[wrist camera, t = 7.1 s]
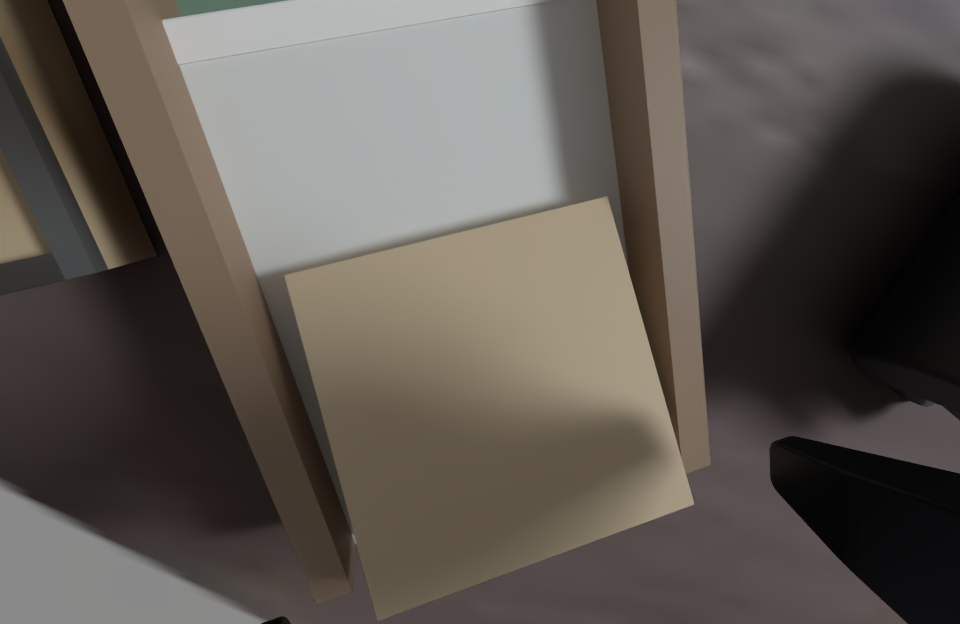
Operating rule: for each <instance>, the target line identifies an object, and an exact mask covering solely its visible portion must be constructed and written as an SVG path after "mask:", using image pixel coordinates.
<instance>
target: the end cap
mask: <svg viewBox="0 0 960 624" xmlns="http://www.w3.org/2000/svg"><path fill="white" fill-rule="evenodd" d="M847 350H848V352H849V353H850V354H851V360H852V362H853V363H854V365H855V366H856V367H857V368H858V370H859V371H861V372H862V373H863V374H864V375H865V376H866V377H868V378H870V379H872V380H875V381H878V382H880V383H883V384H886V385H888V386H889V387H890V388H892V389H893V390H894V391H895V392H897V393H898V394H899V395H900V396H902V397H903V398H904V399H906V400H908V401H911V402H914V403H916V404H919V405H921V406H925V407H928V406H931V405H933V404H934V403H936V404H939V405H942V406H943V407H944V408H946V409H947V410H948V411H949V412H950V413H952V414H953V415H954V416H955V417H956V418H958V419H959V420H960V195H959V197H958V198H957V199H956V201H955V202H954V203H953V205H952V206H951V208H950V209H949V210H948V212H947V213H946V214H945V216H944V217H943V219H942V220H941V221H940V223H939V224H938V225H937V227H936V228H935V229H934V231H933V232H932V234H931V235H930V236H929V238H928V239H927V240H926V242H925V243H924V245H923V246H922V247H921V249H920V250H919V251H918V253H917V254H916V255H915V257H914V258H913V260H912V261H911V262H910V264H909V265H908V266H907V268H906V269H905V270H904V272H903V273H902V275H901V276H900V277H899V279H898V280H897V281H896V283H895V284H894V286H893V287H892V288H891V290H890V291H889V292H888V294H887V295H886V296H885V298H884V299H883V301H882V302H881V303H880V305H879V306H878V307H877V309H876V310H875V311H874V313H873V314H872V316H871V317H870V318H869V320H868V321H867V322H866V324H865V325H864V327H863V328H862V329H861V331H860V332H859V333H858V335H857V336H856V337H855V339H854V340H853V342H852V343H851V344H850V346H849V347H848V349H847Z"/></svg>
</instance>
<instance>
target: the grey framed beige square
mask: <svg viewBox="0 0 960 624" xmlns="http://www.w3.org/2000/svg"><path fill="white" fill-rule="evenodd" d="M154 256H157V255H156V252H155V250H154V248H153V245H152V243H151V241H150V238H149V236H148V234H147V231H146V229H145V227H144V224H143V222H142V220H141V217H140V215H139V213H138V210H137V208H136V206H135V203H134V201H133V199H132V196H131V194H130V192H129V189H128V187H127V185H126V182H125V180H124V178H123V175H122V173H121V171H120V168H119V166H118V164H117V161H116V159H115V157H114V154H113V152H112V150H111V147H110V145H109V143H108V140H107V138H106V136H105V133H104V131H103V129H102V126H101V124H100V122H99V119H98V117H97V115H96V112H95V110H94V108H93V105H92V103H91V101H90V98H89V96H88V94H87V91H86V89H85V87H84V84H83V82H82V80H81V77H80V75H79V73H78V70H77V68H76V66H75V63H74V61H73V59H72V56H71V54H70V52H69V49H68V47H67V45H66V42H65V40H64V38H63V35H62V33H61V31H60V28H59V26H58V24H57V21H56V19H55V17H54V14H53V12H52V10H51V7H50V5H49V3H48V0H0V295H3V294H7V293H11V292H16V291H20V290H24V289H29V288H33V287H37V286H42V285H46V284H51V283H55V282H59V281H64V280H68V279H72V278H77V277H81V276H85V275H90V274H94V273H98V272H102V271H105V270H109V269H112V268H116V267H119V266H123V265H126V264H130V263H133V262H137V261H140V260H144V259H147V258H151V257H154Z"/></svg>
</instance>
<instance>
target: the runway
mask: <svg viewBox="0 0 960 624" xmlns="http://www.w3.org/2000/svg"><path fill="white" fill-rule="evenodd" d="M63 2H64V5H65V7H66V10H67V12H68V14H69V17H70V19H71V21H72V24H73V26H74V29H75V31H76V33H77V36H78V38H79V40H80V43H81V45H82V48H83V50H84V52H85V55H86V57H87V60H88V62H89V64H90V67H91V69H92V71H93V74H94V76H95V79H96V81H97V83H98V86H99V88H100V90H101V93H102V95H103V98H104V100H105V102H106V105H107V107H108V110H109V112H110V114H111V117H112V119H113V121H114V124H115V126H116V129H117V131H118V133H119V136H120V138H121V140H122V143H123V145H124V148H125V150H126V152H127V155H128V157H129V159H130V162H131V164H132V167H133V169H134V171H135V174H136V176H137V179H138V181H139V183H140V186H141V188H142V190H143V193H144V195H145V198H146V200H147V202H148V205H149V207H150V209H151V212H152V214H153V217H154V219H155V221H156V224H157V226H158V228H159V231H160V233H161V236H162V238H163V240H164V243H165V245H166V248H167V250H168V252H169V255H170V257H171V259H172V262H173V264H174V267H175V269H176V271H177V274H178V276H179V278H180V281H181V283H182V286H183V288H184V290H185V293H186V295H187V298H188V300H189V302H190V305H191V307H192V309H193V312H194V314H195V317H196V319H197V321H198V324H199V326H200V328H201V331H202V333H203V336H204V338H205V340H206V343H207V345H208V347H209V350H210V352H211V355H212V357H213V359H214V362H215V364H216V367H217V369H218V371H219V374H220V376H221V378H222V381H223V383H224V386H225V388H226V390H227V393H228V395H229V397H230V400H231V402H232V405H233V407H234V409H235V412H236V414H237V416H238V419H239V421H240V424H241V426H242V428H243V431H244V433H245V436H246V438H247V440H248V443H249V445H250V447H251V450H252V452H253V455H254V457H255V459H256V462H257V464H258V466H259V469H260V471H261V474H262V476H263V478H264V481H265V483H266V486H267V488H268V490H269V493H270V495H271V497H272V500H273V502H274V505H275V507H276V509H277V512H278V514H279V516H280V519H281V521H282V524H283V526H284V528H285V531H286V533H287V535H288V538H289V540H290V543H291V545H292V547H293V550H294V552H295V555H296V557H297V559H298V562H299V564H300V566H301V569H302V571H303V574H304V576H305V578H306V581H307V583H308V585H309V588H310V590H311V593H312V595H313V597H314V600H315V602H316V604H317V605H319V604H322V603H324V602H327V601H330V600H333V599H336V598H339V597H341V596H344V595H347V594H350V593H353V577H354V559H355V544H357V547H358V550H359V554H360V558H361V562H362V565H363V569H364V573H365V576H366V580H367V584H368V587H369V591H370V595H371V599H372V602H373V606H374V610H375V613H376V617H377V621H379V620H382V619H384V618H387V617H390V616H392V615H395V614H398V613H401V612H403V611H406V610H409V609H411V608H414V607H417V606H420V605H422V604H425V603H428V602H430V601H433V600H436V599H439V598H441V597H444V596H447V595H449V594H452V593H455V592H458V591H460V590H463V589H466V588H468V587H471V586H474V585H477V584H479V583H482V582H485V581H487V580H490V579H493V578H496V577H498V576H501V575H504V574H506V573H509V572H512V571H515V570H517V569H520V568H523V567H525V566H528V565H531V564H534V563H536V562H539V561H542V560H544V559H547V558H550V557H553V556H555V555H558V554H561V553H563V552H566V551H569V550H572V549H574V548H577V547H580V546H582V545H585V544H588V543H591V542H593V541H596V540H599V539H601V538H604V537H607V536H610V535H612V534H615V533H618V532H620V531H623V530H626V529H629V528H631V527H634V526H637V525H639V524H642V523H645V522H648V521H650V520H653V519H656V518H658V517H661V516H664V515H667V514H669V513H672V512H675V511H677V510H680V509H683V508H686V507H688V506H691V505H694V501H693V498H692V494H691V491H690V487H689V484H688V480H687V476H686V474H687V473H690V472H693V471H695V470H698V469H701V468H704V467H707V466H710V465H711V463H710V449H709V436H708V422H707V409H706V395H705V382H704V369H703V355H702V342H701V328H700V315H699V301H698V288H697V275H696V261H695V248H694V234H693V221H692V207H691V194H690V180H689V167H688V154H687V140H686V127H685V113H684V100H683V86H682V73H681V59H680V46H679V33H678V19H677V6H676V0H63Z"/></svg>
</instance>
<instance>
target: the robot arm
mask: <svg viewBox="0 0 960 624" xmlns="http://www.w3.org/2000/svg"><path fill="white" fill-rule="evenodd" d="M770 478H771V482H772V484H773V486H774V488H775V489H776V491H777V492H778V493H779V494H780V495H781V497H782V498H783V499H784V500H785V501H786V502H787V503H788V504H789V505H790V506H791V507H792V509H793V510H794V511H795V512H796V513H797V514H798V515H799V516H800V517H801V518H802V519H803V521H804V522H805V523H806V524H807V525H808V526H809V527H810V528H811V529H812V530H813V531H814V532H815V534H816V535H817V536H818V537H819V538H820V539H821V540H822V541H823V542H824V543H825V544H826V546H827V547H828V548H829V549H830V550H831V551H832V552H833V553H834V554H835V555H836V556H837V557H838V558H839V559H840V560H841V561H842V562H843V563H844V564H845V565H846V566H847V567H848V568H849V569H850V570H851V571H852V572H853V573H854V574H855V575H856V576H857V577H858V578H859V579H860V580H861V581H862V582H863V583H865V584H866V585H867V586H868V587H869V588H870V589H871V590H872V591H873V592H874V593H875V594H876V595H877V596H879V597H880V598H881V599H882V600H883V601H884V602H885V603H886V604H887V605H888V606H889V607H890V608H891V609H893V610H894V611H895V612H896V613H897V614H898V615H899V616H900V617H901V618H902V619H903V620H904V621H905V622H907V623H908V624H960V474H959V473H955V472H950V471H946V470H941V469H937V468H933V467H928V466H924V465H919V464H915V463H911V462H906V461H902V460H897V459H893V458H889V457H884V456H880V455H875V454H871V453H867V452H862V451H858V450H853V449H849V448H845V447H840V446H836V445H831V444H827V443H822V442H818V441H814V440H809V439H805V438H800V437H796V436H789V437H785V438H783V439H780V440H777V441H774V442H773V443H772V444H771V446H770ZM262 624H290V622H289V620H288V619H287V618H286V617H278V618H275V619H272V620H270V621H267V622H264V623H262Z"/></svg>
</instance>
